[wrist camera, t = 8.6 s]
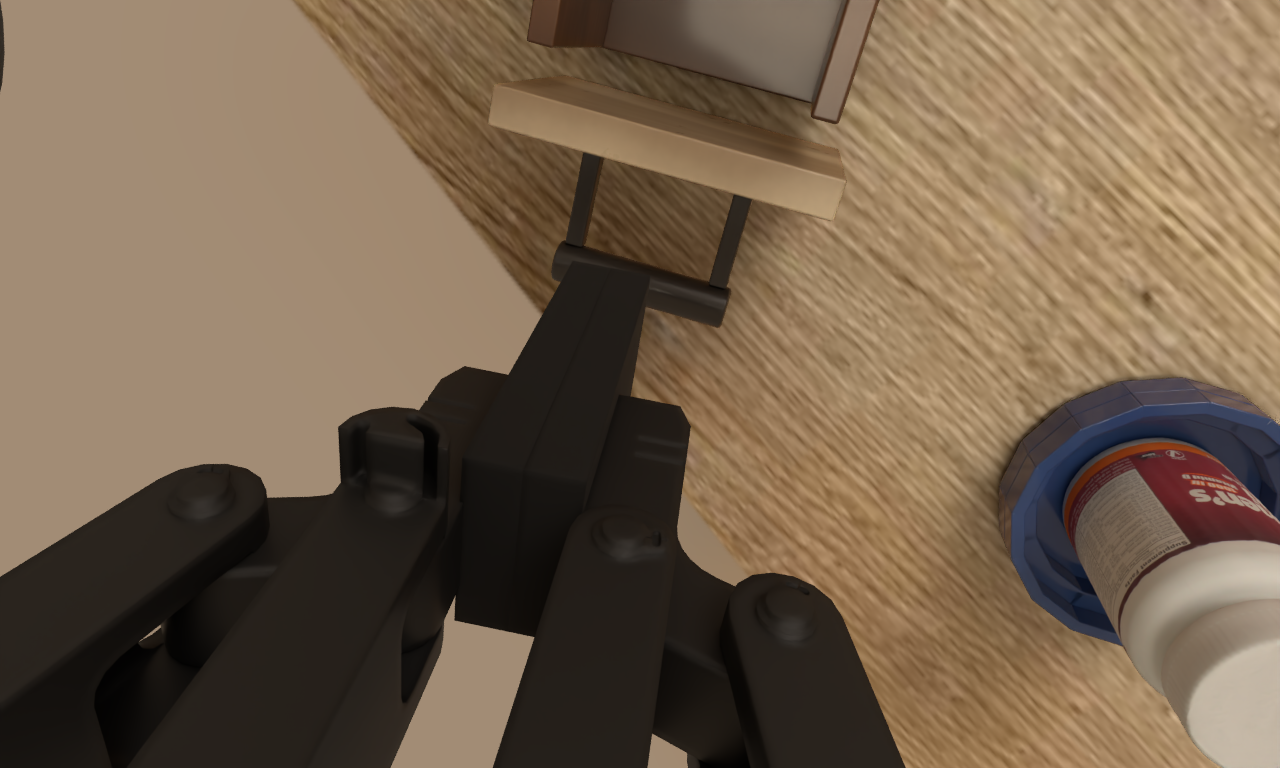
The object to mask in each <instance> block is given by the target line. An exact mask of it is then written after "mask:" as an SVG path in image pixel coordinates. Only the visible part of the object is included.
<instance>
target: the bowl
mask: <svg viewBox="0 0 1280 768" xmlns="http://www.w3.org/2000/svg"><path fill="white" fill-rule="evenodd" d="M1145 438H1168V439H1174V440H1179V441H1183V442H1187V443H1190V444H1193V445H1195V446H1197V447H1199V448H1201V449H1203V450H1205V451H1207V452H1208V453H1210V454H1211V455H1213V456H1214V457H1215V458H1217V459H1218V460H1219V461H1220V462H1221V463H1222V464H1223V465H1224V466H1225V467H1226V468H1228V469H1229V470H1230V471H1231V472H1232V473H1233V474H1234V475H1235V476H1236V478H1237V479H1238V480H1239V481H1240V482H1241V483H1242V484H1243V485H1244V486H1245V487H1246V488H1247V489H1248V490H1249V491H1250V492H1251V493H1252V494H1253V495H1254V496H1255V497H1256V498H1257V499H1258V500H1259V501H1260V502H1261V503H1262V504H1263V505H1264V506H1265V507H1266V508H1267V509H1268V510H1269V511H1270V512H1271V513H1272V515H1273V516H1274V517H1276V518H1277V519H1278V521H1279V522H1280V425H1278V424H1277V423H1276V422H1275V421H1274V420H1272V419H1271V418H1270V417H1269V416H1267V415H1266V414H1265V413H1264V412H1263V411H1261V410H1260V409H1259V408H1258V407H1256V406H1255V405H1254V404H1253V403H1251V402H1250V401H1249V400H1248V399H1247V398H1245V397H1244V396H1242V395H1240V394H1239V393H1235V392H1232V391H1228V390H1225V389H1221V388H1218V387H1214V386H1211V385H1207V384H1204V383H1200V382H1197V381H1193V380H1190V379H1186V378H1166V379H1150V380H1134V381H1121V382H1118V383H1115V384H1113V385H1110V386H1107V387H1105V388H1102V389H1100V390H1097V391H1095V392H1092V393H1090V394H1087V395H1085V396H1082V397H1080V398H1077V399H1075V400H1072V401H1070V402H1067V403H1065V404H1064V405H1062V406H1061V407H1060V408H1059V409H1057V410H1056V411H1055V412H1054V413H1053V414H1052V415H1050V416H1049V417H1048V418H1047V419H1046V420H1045V421H1044V422H1042V423H1041V424H1040V425H1039V426H1038V427H1037V428H1035V429H1034V430H1033V431H1032V432H1031V433H1030V434H1029V435H1027V436H1026V437H1025V438H1024V439H1023V440H1022V441H1021V443H1020V445H1019V447H1018V449H1017V450H1016V452H1015V454H1014V456H1013V458H1012V460H1011V462H1010V464H1009V466H1008V468H1007V470H1006V472H1005V474H1004V476H1003V478H1002V480H1001V482H1000V486H999V528H1000V532H1001V535H1002V537H1003V540H1004V543H1005V545H1006V548H1007V550H1008V553H1009V556H1010V558H1011V561H1012V562H1013V564H1014V566H1015V568H1016V570H1017V572H1018V574H1019V576H1020V578H1021V580H1022V582H1023V584H1024V586H1025V588H1026V589H1027V591H1028V593H1029V595H1030V597H1031V599H1032V600H1033V601H1034V602H1036V603H1037V604H1038V605H1040V606H1041V607H1042V608H1043V609H1045V610H1046V611H1047V612H1049V613H1050V614H1051V615H1053V616H1054V617H1055V618H1056V619H1058V620H1059V621H1060V622H1062V623H1063V624H1064V625H1065V626H1067V627H1068V628H1069V629H1071V630H1073V631H1076V632H1079V633H1082V634H1086V635H1089V636H1092V637H1095V638H1098V639H1101V640H1105V641H1108V642H1111V643H1114V644H1117V645H1120V646H1123V645H1122V643H1121V641H1120V639H1119V637H1118V635H1117V633H1116V631H1115V629H1114V627H1113V625H1112V623H1111V621H1110V619H1109V617H1108V615H1107V613H1106V611H1105V609H1104V607H1103V606H1102V604H1101V602H1100V600H1099V598H1098V596H1097V594H1096V592H1095V590H1094V588H1093V586H1092V584H1091V582H1090V580H1089V578H1088V576H1087V574H1086V572H1085V570H1084V568H1083V566H1082V564H1081V562H1080V561H1079V559H1078V556H1077V554H1076V552H1075V550H1074V548H1073V546H1072V544H1071V542H1070V540H1069V537H1068V535H1067V532H1066V530H1065V526H1064V522H1063V514H1062V511H1063V501H1064V497H1065V493H1066V490H1067V488H1068V486H1069V484H1070V482H1071V481H1072V479H1073V478H1074V476H1075V475H1076V474H1077V473H1078V471H1079V470H1080V469H1081V468H1082V467H1083V466H1084V465H1085V464H1086V463H1087V462H1088V461H1090V460H1091V459H1092V458H1094V457H1095V456H1097V455H1098V454H1100V453H1101V452H1103V451H1105V450H1107V449H1109V448H1111V447H1114V446H1116V445H1119V444H1122V443H1125V442H1129V441H1133V440H1138V439H1145Z"/></svg>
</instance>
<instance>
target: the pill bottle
mask: <svg viewBox="0 0 1280 768" xmlns="http://www.w3.org/2000/svg"><path fill="white" fill-rule="evenodd" d="M1062 514H1063V522H1064V526H1065V530H1066V532H1067V535H1068V537H1069V540H1070V542H1071V544H1072V546H1073V548H1074V550H1075V552H1076V554H1077V556H1078V559H1079V561H1080V562H1081V564H1082V566H1083V568H1084V570H1085V572H1086V574H1087V576H1088V578H1089V580H1090V582H1091V584H1092V586H1093V588H1094V590H1095V592H1096V594H1097V596H1098V598H1099V600H1100V602H1101V604H1102V606H1103V607H1104V609H1105V611H1106V613H1107V615H1108V617H1109V619H1110V621H1111V623H1112V625H1113V627H1114V629H1115V631H1116V633H1117V635H1118V637H1119V639H1120V641H1121V643H1122V645H1123V647H1124V649H1125V651H1126V652H1127V654H1128V656H1129V658H1130V660H1131V661H1132V663H1133V665H1134V666H1135V668H1136V669H1137V671H1138V672H1139V673H1140V675H1141V676H1142V677H1143V678H1144V679H1145V680H1146V681H1147V682H1148V683H1149V684H1150V685H1151V686H1152V687H1153V688H1154V689H1155V690H1156V691H1158V692H1159V693H1160V694H1162V695H1163V696H1165V697H1166V698H1167V699H1168V701H1169V703H1170V705H1171V707H1172V708H1173V710H1174V712H1175V713H1176V714H1177V716H1178V717H1179V719H1180V721H1181V723H1182V725H1183V726H1184V728H1185V730H1186V732H1187V733H1188V735H1189V737H1190V738H1191V740H1192V741H1193V743H1194V744H1195V745H1196V747H1197V748H1198V749H1199V750H1200V751H1201V752H1202V753H1203V754H1204V755H1205V756H1206V757H1207V758H1209V759H1210V760H1211V761H1213V762H1214V763H1216V764H1217V765H1219V766H1221V767H1223V768H1280V522H1279V521H1278V519H1277V518H1276V517H1274V516H1273V515H1272V513H1271V512H1270V511H1269V510H1268V509H1267V508H1266V507H1265V506H1264V505H1263V504H1262V503H1261V502H1260V501H1259V500H1258V499H1257V498H1256V497H1255V496H1254V495H1253V494H1252V493H1251V492H1250V491H1249V490H1248V489H1247V488H1246V487H1245V486H1244V485H1243V484H1242V483H1241V482H1240V481H1239V480H1238V479H1237V478H1236V476H1235V475H1234V474H1233V473H1232V472H1231V471H1230V470H1229V469H1228V468H1226V467H1225V466H1224V465H1223V464H1222V463H1221V462H1220V461H1219V460H1218V459H1217V458H1215V457H1214V456H1213V455H1211V454H1210V453H1208V452H1207V451H1205V450H1203V449H1201V448H1199V447H1197V446H1195V445H1193V444H1190V443H1187V442H1183V441H1179V440H1174V439H1168V438H1145V439H1138V440H1133V441H1129V442H1125V443H1122V444H1119V445H1116V446H1114V447H1111V448H1109V449H1107V450H1105V451H1103V452H1101V453H1100V454H1098V455H1097V456H1095V457H1094V458H1092V459H1091V460H1090V461H1088V462H1087V463H1086V464H1085V465H1084V466H1083V467H1082V468H1081V469H1080V470H1079V471H1078V473H1077V474H1076V475H1075V476H1074V478H1073V479H1072V481H1071V482H1070V484H1069V486H1068V488H1067V490H1066V493H1065V497H1064V501H1063V511H1062Z"/></svg>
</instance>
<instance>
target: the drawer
mask: <svg viewBox="0 0 1280 768" xmlns="http://www.w3.org/2000/svg"><path fill="white" fill-rule="evenodd" d="M878 3H879V0H533V5H532V11H531V17H530V24H529V30H528V36H527V41H529V42H532V43H535V44H539V45H543V46H547V47H550V48H581V47H602V48H606V49H610V50H614V51H617V52H621V53H625V54H629V55H632V56H636V57H640V58H643V59H647V60H651V61H655V62H658V63H662V64H666V65H670V66H673V67H677V68H681V69H684V70H688V71H692V72H696V73H699V74H703V75H707V76H711V77H714V78H718V79H722V80H725V81H729V82H733V83H737V84H740V85H744V86H748V87H752V88H755V89H759V90H763V91H766V92H770V93H774V94H778V95H781V96H785V97H789V98H793V99H796V100H800V101H804V102H807V103H811V117H812V118H814V119H817V120H821V121H825V122H829V123H832V124H838V123H839V121H840V118H841V115H842V112H843V109H844V106H845V103H846V100H847V97H848V94H849V91H850V88H851V85H852V82H853V79H854V76H855V73H856V70H857V67H858V63H859V60H860V57H861V54H862V51H863V48H864V45H865V42H866V39H867V36H868V33H869V30H870V27H871V24H872V21H873V18H874V15H875V12H876V9H877V6H878ZM488 125H489V126H492V127H496V128H499V129H503V130H506V131H510V132H513V133H517V134H521V135H524V136H528V137H531V138H535V139H538V140H542V141H546V142H549V143H553V144H556V145H560V146H563V147H567V148H571V149H574V150H578V151H581V152H583V157H582V162H581V167H580V172H579V177H578V182H577V187H576V192H575V197H574V202H573V207H572V212H571V217H570V222H569V227H568V232H567V237H566V240H563V241H561V243H560V244H559V246H558V248H557V250H556V253H555V256H554V259H553V263H552V271H551V273H552V278H553V279H554V280H557V281H560V282H561V281H562V279H563V277H564V276H565V274H566V272H567V270H568V269H569V267H570V265H571V263H572V261H577V262H583V263H588V264H593V265H598V266H604V267H609V268H614V269H619V270H624V271H630V272H635V273H640V274H645V275H651V278H650V284H649V289H648V295H647V301H646V307H648V308H652V309H655V310H658V311H662V312H665V313H669V314H672V315H675V316H679V317H682V318H685V319H689V320H692V321H696V322H699V323H702V324H706V325H709V326H713V327H716V328H720V327H721V325H722V321H723V318H724V315H725V312H726V308H727V305H728V302H729V298H730V295H731V289H730V288H728V287H727V284H728V281H729V277H730V274H731V270H732V267H733V264H734V260H735V257H736V254H737V250H738V247H739V243H740V240H741V237H742V233H743V230H744V227H745V223H746V220H747V216H748V213H749V210H750V206H751V203H752V200H756V201H760V202H763V203H767V204H770V205H774V206H778V207H781V208H785V209H788V210H792V211H795V212H799V213H803V214H806V215H810V216H813V217H817V218H820V219H824V220H828V221H833V220H834V218H835V215H836V212H837V209H838V206H839V203H840V200H841V198H842V195H843V192H844V189H845V186H846V177H845V173H844V169H843V165H842V161H841V157H840V153H839V150H838V149H835V148H831V147H827V146H824V145H820V144H816V143H813V142H809V141H805V140H802V139H798V138H794V137H791V136H787V135H783V134H780V133H776V132H772V131H768V130H765V129H761V128H757V127H754V126H750V125H746V124H743V123H739V122H735V121H732V120H728V119H724V118H721V117H717V116H713V115H710V114H706V113H702V112H699V111H695V110H691V109H688V108H684V107H680V106H677V105H673V104H669V103H666V102H662V101H658V100H655V99H651V98H647V97H644V96H640V95H636V94H633V93H629V92H625V91H622V90H618V89H614V88H611V87H607V86H603V85H600V84H596V83H592V82H589V81H585V80H581V79H578V78H574V77H570V76H567V75H563V76H555V77H547V78H538V79H530V80H522V81H513V82H505V83H497V84H494V85H493V91H492V98H491V105H490V111H489V118H488ZM604 158H606V159H610V160H613V161H617V162H620V163H624V164H628V165H631V166H635V167H638V168H642V169H645V170H649V171H653V172H656V173H660V174H663V175H667V176H670V177H674V178H678V179H681V180H685V181H688V182H692V183H695V184H699V185H703V186H706V187H710V188H713V189H717V190H720V191H724V192H728V193H731V194H734V196H733V199H732V203H731V206H730V210H729V213H728V217H727V220H726V224H725V227H724V231H723V234H722V238H721V241H720V245H719V248H718V252H717V255H716V259H715V262H714V266H713V269H712V273H711V276H710V280H709V282H708V281H704V280H701V279H697V278H694V277H691V276H687V275H684V274H680V273H677V272H673V271H670V270H666V269H663V268H660V267H656V266H653V265H649V264H646V263H642V262H639V261H635V260H632V259H629V258H625V257H622V256H618V255H615V254H611V253H608V252H604V251H601V250H598V249H594V248H591V247H587V246H584V245H585V244H586V241H587V236H588V231H589V226H590V222H591V217H592V212H593V208H594V203H595V198H596V193H597V189H598V184H599V179H600V175H601V170H602V165H603V160H604Z"/></svg>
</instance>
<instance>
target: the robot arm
mask: <svg viewBox="0 0 1280 768" xmlns="http://www.w3.org/2000/svg"><path fill="white" fill-rule="evenodd" d="M650 278H651V275H645V274H640V273H635V272H630V271H624V270H619V269H614V268H609V267H604V266H598V265H593V264H588V263H583V262H577V261H572V263H571V265H570V267H569V269H568V270H567V272H566V274H565V276H564V277H563V279H562V281H561V283H560V284H559V286H558V288H557V290H556V292H555V293H554V295H553V297H552V299H551V300H550V302H549V304H548V306H547V308H546V309H545V311H544V313H543V315H542V316H541V318H540V320H539V322H538V324H537V325H536V327H535V329H534V331H533V333H532V334H531V336H530V338H529V340H528V341H527V343H526V345H525V347H524V348H523V350H522V352H521V354H520V356H519V357H518V359H517V361H516V363H515V364H514V366H513V368H512V370H511V372H510V373H509V375H506V374H501V373H496V372H491V371H486V370H481V369H476V368H471V367H466V366H464V367H462V368H461V369H459V370H457V371H455V372H453V373H452V374H450V375H448V376H447V377H445V378H442V379H441V380H440V382H439V383H438V384H437V386H436V387H435V389H434V390H433V391H432V393H431V394H430V396H429V397H428V401H425V403H424V404H423V406H422V407H421V408H420V410H416V409H411V408H399V407H387V408H380V409H371V410H368V411H365V412H363V413H360V414H357V415H355V416H352V417H350V418H349V419H348V420H347V421H345V422H344V423H343V424H341V425H340V426H339V427H338V432H339V453H340V473H341V474H340V475H341V483H340V484H339V486H338V487H337V488H336V490H335V491H334V493H333V494H329V495H324V496H313V497H286V498H285V497H282V498H267V494H266V489H265V486H264V484H263V482H262V480H261V478H260V477H259V476H257V475H256V474H254V473H253V472H251V471H250V470H248V469H246V468H242V467H237V466H233V465H229V464H203V465H199V466H194V467H189V468H185V469H180V470H178V471H175V472H173V473H171V474H169V475H167V476H164V477H162V478H160V479H158V480H156V481H155V482H153V483H152V484H150V485H149V486H147V487H145V488H144V489H142V490H140V491H139V492H137V493H135V494H134V495H132V496H130V497H129V498H127V499H126V500H124V501H122V502H121V503H119V504H118V505H116V506H114V507H113V508H111V509H110V510H108V511H106V512H105V513H103V514H101V515H100V516H98V517H97V518H95V519H93V520H92V521H90V522H88V523H87V524H85V525H83V526H82V527H80V528H79V529H77V530H75V531H74V532H73V533H71V534H69V535H67V536H66V537H64V538H62V539H61V540H59V541H58V542H56V543H54V544H53V545H51V546H50V547H48V548H46V549H45V550H43V551H41V552H40V553H38V554H37V555H35V556H33V557H32V558H30V559H28V560H27V561H25V562H24V563H22V564H20V565H19V566H17V567H16V568H14V569H12V570H11V571H9V572H7V573H6V574H4V575H2V576H1V577H0V768H390V767H391V765H392V763H393V761H394V758H395V756H396V753H397V751H398V749H399V747H400V745H401V742H402V740H403V738H404V735H405V733H406V731H407V729H408V726H409V724H410V722H411V719H412V717H413V715H414V713H415V710H416V708H417V706H418V703H419V701H420V699H421V697H422V694H423V692H424V689H425V687H426V685H427V683H428V680H429V678H430V676H431V674H432V671H433V669H434V667H435V664H436V662H437V659H438V658H439V655H440V653H441V648H442V642H443V632H444V631H443V630H444V619H445V617H446V615H447V613H448V610H449V608H450V606H451V604H452V602H453V599H454V597H455V595H456V598H455V621H460V622H465V623H469V624H474V625H479V626H484V627H489V628H493V629H498V630H504V631H508V632H513V633H517V634H523V635H527V636H532V637H535V638H534V641H533V644H532V647H531V650H530V653H529V656H528V659H527V663H526V666H525V669H524V672H523V675H522V678H521V681H520V684H519V688H518V691H517V694H516V697H515V700H514V703H513V706H512V709H511V713H510V716H509V719H508V722H507V725H506V728H505V731H504V734H503V737H502V741H501V744H500V747H499V750H498V753H497V756H496V759H495V762H494V765H493V768H647V766H648V759H649V752H650V744H651V737H652V734H654V735H656V736H658V737H660V738H662V739H663V740H665V741H667V742H669V743H670V744H673V745H674V746H676V747H678V748H680V749H681V750H683V751H685V752H687V764H688V768H905V765H904V763H903V761H902V758H901V756H900V753H899V751H898V749H897V746H896V744H895V741H894V739H893V737H892V734H891V732H890V730H889V727H888V725H887V722H886V720H885V718H884V715H883V713H882V710H881V708H880V706H879V703H878V701H877V699H876V696H875V694H874V691H873V689H872V687H871V684H870V682H869V679H868V677H867V675H866V672H865V670H864V668H863V665H862V663H861V660H860V658H859V656H858V653H857V651H856V648H855V646H854V644H853V641H852V639H851V637H850V634H849V632H848V629H847V627H846V625H845V622H844V620H843V618H842V616H841V614H840V613H839V611H838V610H837V608H836V607H835V605H834V603H833V602H832V600H831V599H830V598H828V597H827V596H826V595H825V594H823V593H822V592H821V591H820V590H818V589H817V588H816V587H815V586H813V585H811V584H809V583H807V582H804V581H802V580H800V579H798V578H796V577H793V576H788V575H782V574H776V573H766V574H757V575H752V576H750V577H748V578H746V579H745V580H743V581H741V582H739V583H738V584H737V585H736V587H735V586H733V585H731V584H729V583H727V582H724V581H722V580H720V579H718V578H716V577H714V576H712V575H711V574H709V573H707V572H706V571H704V570H702V569H701V568H700V567H699V566H697V565H696V564H695V563H694V562H693V561H692V560H690V558H689V557H688V556H687V554H686V553H685V552H684V550H683V549H682V547H681V545H680V542H679V540H678V537H677V536H678V535H677V524H678V516H679V508H680V502H681V494H682V487H683V480H684V472H685V464H686V458H687V449H688V443H689V436H690V428H691V426H690V424H689V422H688V420H687V418H686V416H685V414H684V412H683V411H682V409H681V407H680V406H676V405H670V404H665V403H660V402H655V401H650V400H645V399H640V398H635V397H630V396H631V390H632V384H633V378H634V372H635V366H636V360H637V354H638V349H639V343H640V337H641V331H642V325H643V319H644V313H645V307H646V301H647V295H648V289H649V284H650ZM159 625H161V628H160V629H159V630H157V631H156V632H155V633H153V634H152V635H150V636H149V637H147V638H145V639H143V638H144V637H145V636H146V635H148V634H149V633H150V632H151V631H153V630H154V629H155V628H157V627H158V626H159ZM141 639H143V640H142V641H140V640H141ZM139 641H140V642H139Z"/></svg>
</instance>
